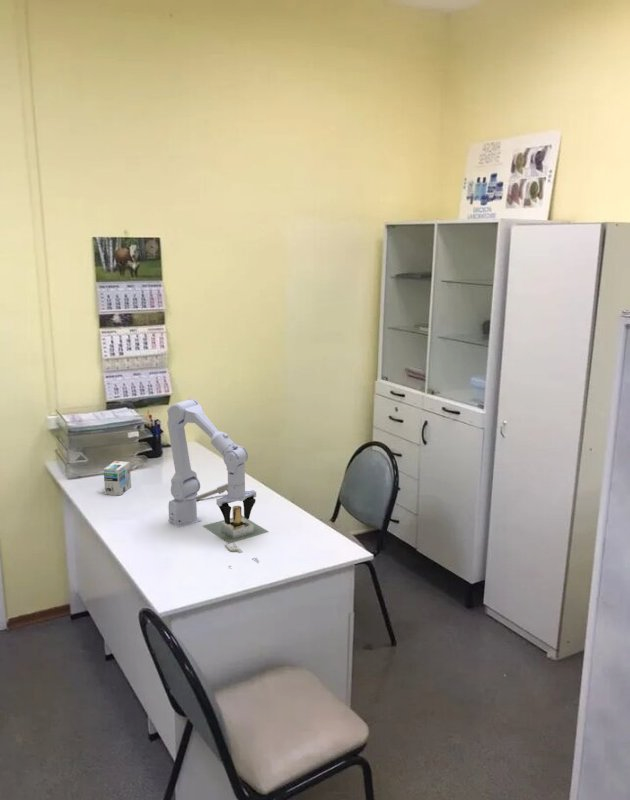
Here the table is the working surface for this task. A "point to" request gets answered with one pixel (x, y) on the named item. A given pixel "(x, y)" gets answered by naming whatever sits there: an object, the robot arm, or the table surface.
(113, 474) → the light bulb box
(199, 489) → the robot arm
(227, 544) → the pliers
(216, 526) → the mat
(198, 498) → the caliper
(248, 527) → the silver square socket
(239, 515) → the pin
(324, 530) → the table surface
